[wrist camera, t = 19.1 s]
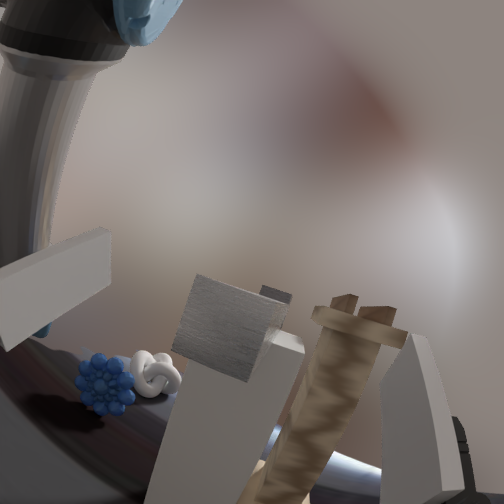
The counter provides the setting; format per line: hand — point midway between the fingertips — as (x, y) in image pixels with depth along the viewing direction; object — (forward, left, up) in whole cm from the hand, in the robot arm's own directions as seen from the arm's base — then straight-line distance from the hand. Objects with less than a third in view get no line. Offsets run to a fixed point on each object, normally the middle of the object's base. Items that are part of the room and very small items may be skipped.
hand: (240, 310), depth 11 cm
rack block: (0, +15, -28) cm, 32 cm away
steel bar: (0, +11, -2) cm, 11 cm away
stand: (+10, +26, -28) cm, 40 cm away
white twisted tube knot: (-20, +45, -29) cm, 57 cm away
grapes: (-21, +27, -28) cm, 45 cm away
